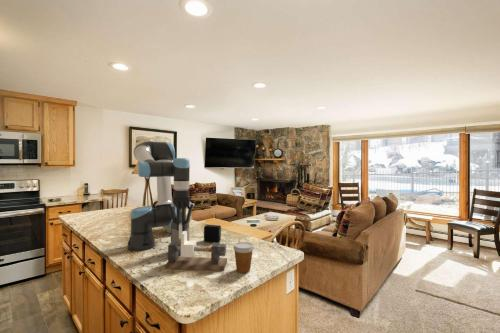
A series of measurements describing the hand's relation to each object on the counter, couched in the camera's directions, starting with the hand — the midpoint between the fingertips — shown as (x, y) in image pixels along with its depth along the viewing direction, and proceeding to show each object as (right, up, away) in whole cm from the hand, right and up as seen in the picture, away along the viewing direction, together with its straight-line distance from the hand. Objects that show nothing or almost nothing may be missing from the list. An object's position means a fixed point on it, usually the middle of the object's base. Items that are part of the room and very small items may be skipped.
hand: (181, 237), depth 121 cm
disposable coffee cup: (+31, -14, -5) cm, 34 cm away
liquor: (-5, -14, +17) cm, 22 cm away
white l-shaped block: (+4, -9, 0) cm, 9 cm away
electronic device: (+10, -13, +37) cm, 40 cm away
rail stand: (+8, -14, 0) cm, 16 cm away
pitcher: (-21, -13, +59) cm, 64 cm away
